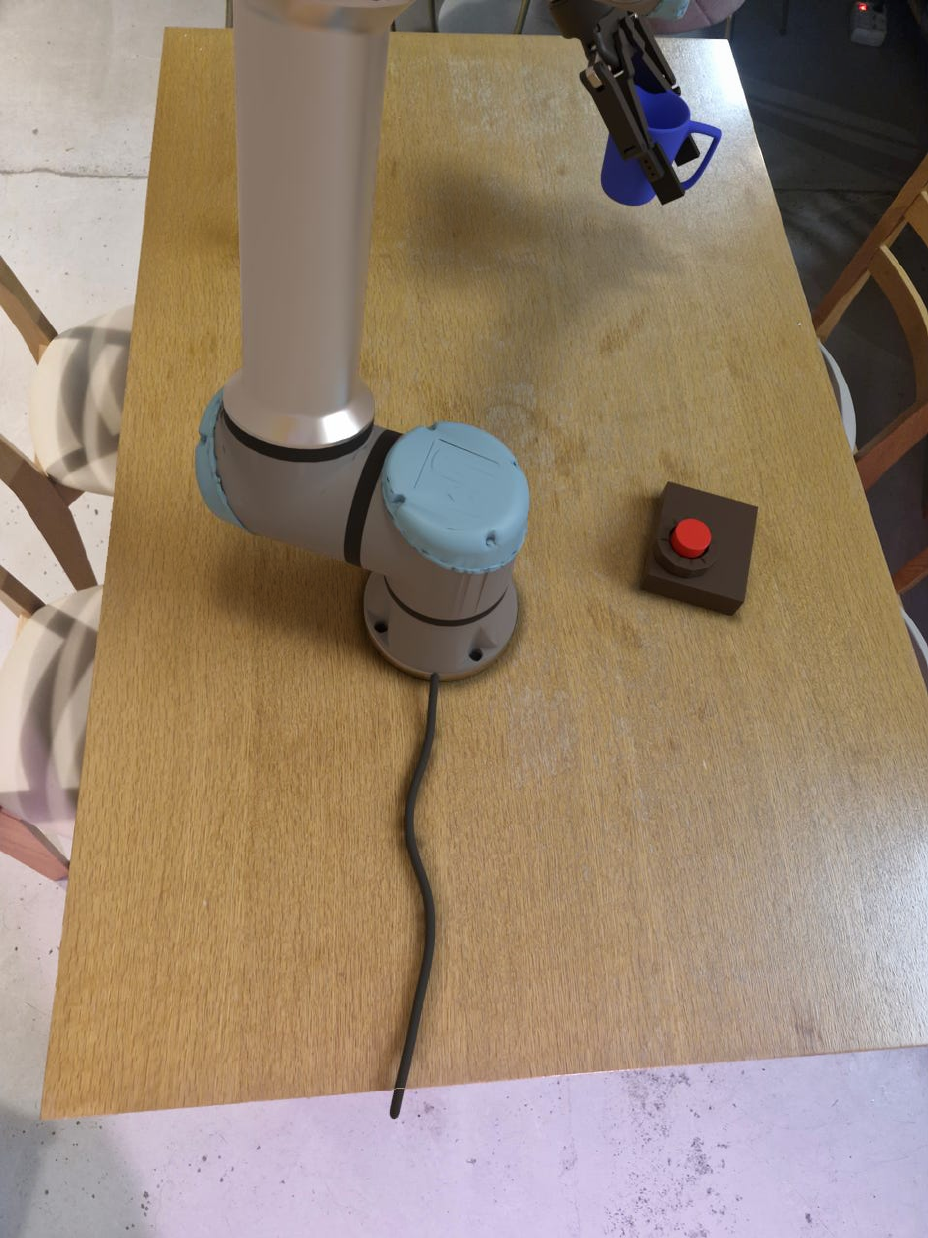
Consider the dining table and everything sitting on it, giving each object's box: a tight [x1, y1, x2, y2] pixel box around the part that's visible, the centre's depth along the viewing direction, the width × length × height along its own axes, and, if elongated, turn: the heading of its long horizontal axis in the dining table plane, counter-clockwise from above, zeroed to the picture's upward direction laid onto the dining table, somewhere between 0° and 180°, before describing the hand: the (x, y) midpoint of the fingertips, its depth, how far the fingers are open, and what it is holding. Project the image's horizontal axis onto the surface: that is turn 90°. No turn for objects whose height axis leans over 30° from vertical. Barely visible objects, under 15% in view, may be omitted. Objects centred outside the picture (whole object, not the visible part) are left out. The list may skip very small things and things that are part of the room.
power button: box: [671, 519, 711, 558], centre depth 85 cm, size 4×4×2 cm
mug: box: [600, 85, 723, 207], centre depth 95 cm, size 8×12×10 cm
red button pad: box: [639, 480, 759, 617], centre depth 89 cm, size 12×10×5 cm
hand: (681, 178), depth 96 cm, fingers closed on mug, 7 cm apart
